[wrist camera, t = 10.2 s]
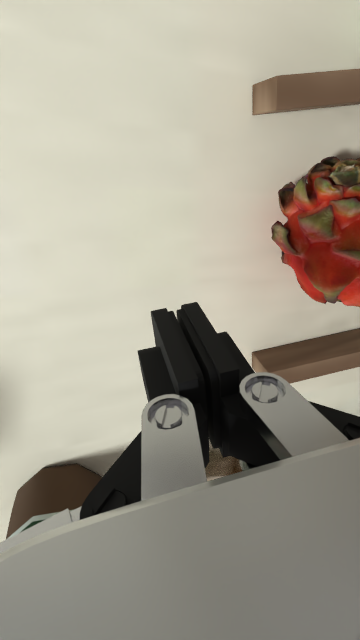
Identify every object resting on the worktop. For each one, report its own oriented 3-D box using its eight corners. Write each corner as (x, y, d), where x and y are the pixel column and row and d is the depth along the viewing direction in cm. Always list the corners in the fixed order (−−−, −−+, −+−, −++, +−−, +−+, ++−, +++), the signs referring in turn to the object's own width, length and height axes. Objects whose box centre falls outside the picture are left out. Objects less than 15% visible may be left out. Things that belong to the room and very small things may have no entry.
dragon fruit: (256, 151, 23) (336, 248, 30) (222, 260, 21) (317, 338, 27) (400, 79, 16) (459, 224, 23) (376, 225, 14) (450, 339, 21)
